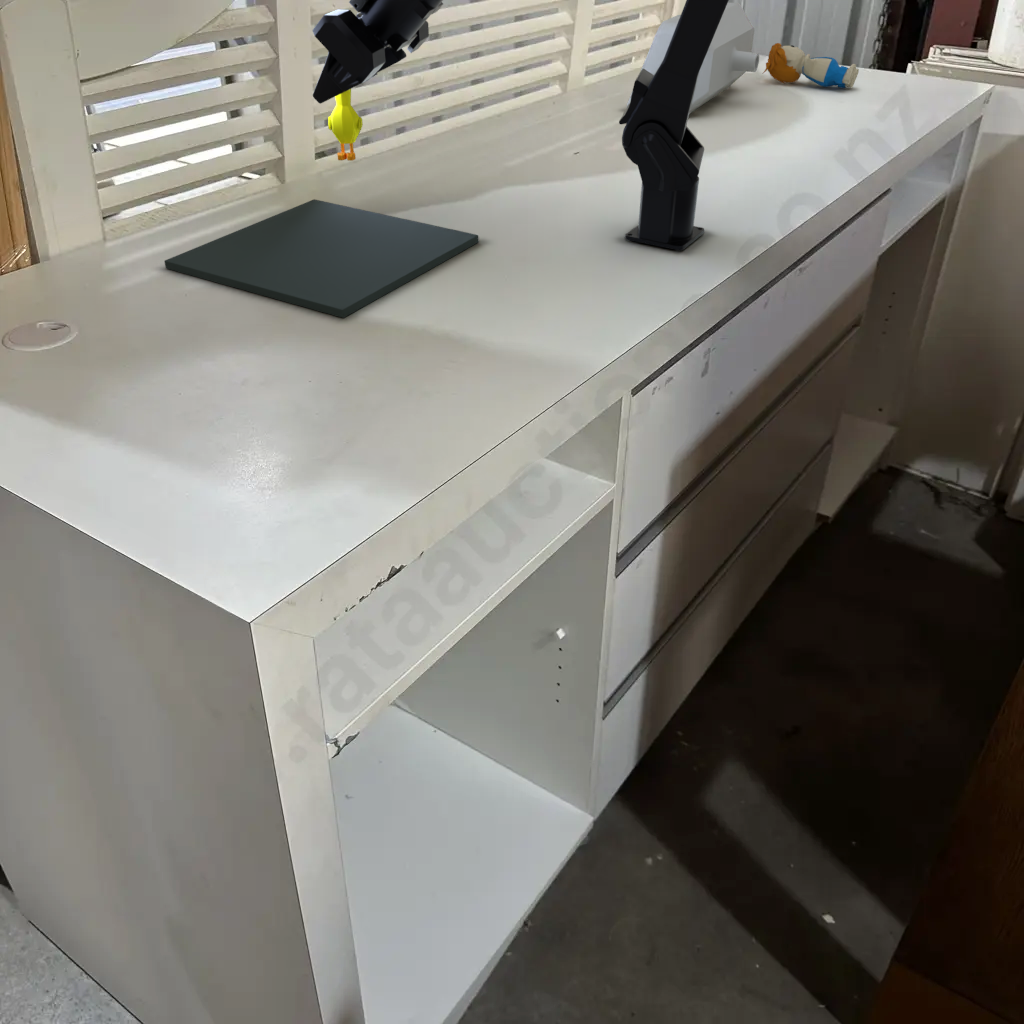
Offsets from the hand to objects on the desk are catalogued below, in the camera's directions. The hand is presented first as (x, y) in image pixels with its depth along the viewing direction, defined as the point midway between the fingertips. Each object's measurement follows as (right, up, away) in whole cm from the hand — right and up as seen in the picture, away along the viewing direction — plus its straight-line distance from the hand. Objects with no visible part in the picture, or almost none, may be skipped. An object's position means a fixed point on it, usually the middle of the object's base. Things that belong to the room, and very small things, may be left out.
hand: (327, 93), depth 99 cm
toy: (+69, +28, +60) cm, 96 cm away
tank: (+49, +21, +51) cm, 74 cm away
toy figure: (+1, -6, +4) cm, 7 cm away
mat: (+1, -18, -4) cm, 18 cm away
